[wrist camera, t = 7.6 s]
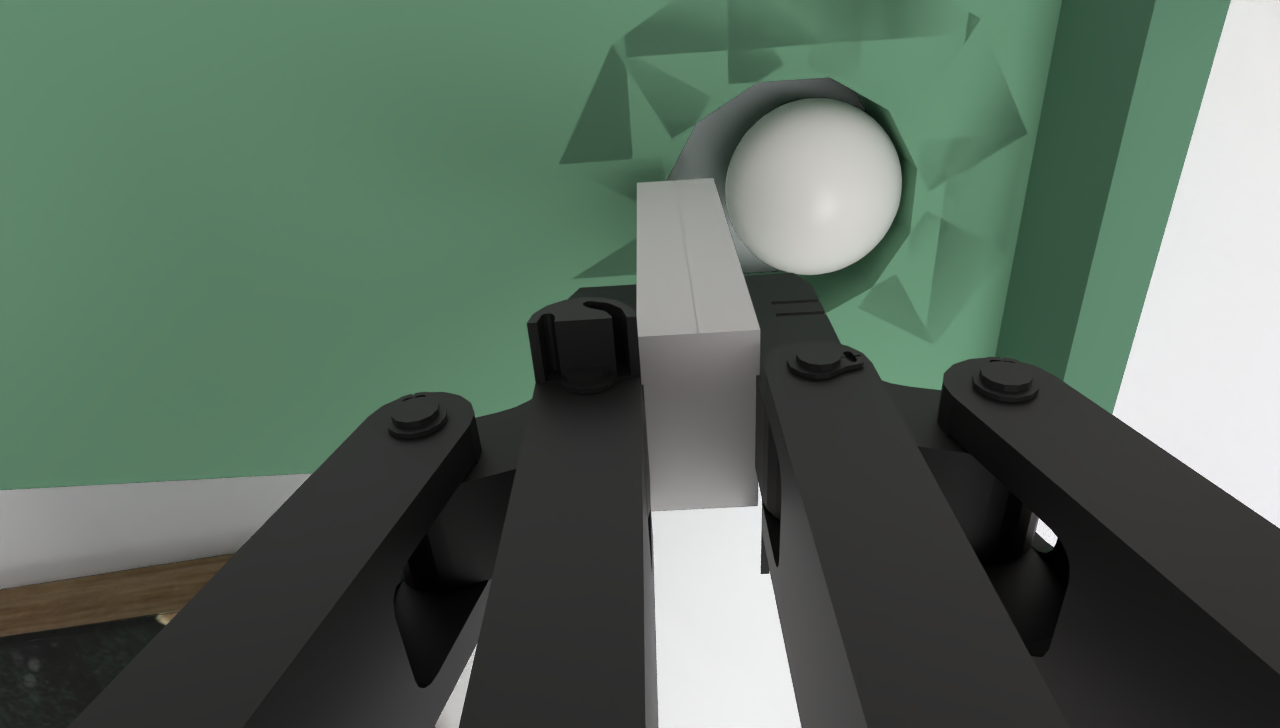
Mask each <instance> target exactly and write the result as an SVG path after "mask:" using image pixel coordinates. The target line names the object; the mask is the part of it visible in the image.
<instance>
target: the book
mask: <svg viewBox="0 0 1280 728" xmlns="http://www.w3.org/2000/svg"><path fill="white" fill-rule="evenodd" d="M234 554H235V553H234ZM234 554H227V555H221V556H214V557H208V558H201V559H195V560H189V561H182V562H176V563H169V564H163V565H156V566H150V567H143V568H137V569H130V570H124V571H117V572H111V573H105V574H98V575H92V576H85V577H79V578H72V579H66V580H59V581H53V582H46V583H40V584H33V585H27V586H20V587H14V588H8V589H1V590H0V728H67V727H68V726H69V725H70V724H71V723H72V722H73V721H74V720H75V719H76V718H77V717H78V716H79V715H80V714H81V712H82V711H83V710H84V709H85V708H86V707H87V706H88V705H89V704H90V703H91V702H92V701H93V700H94V699H95V698H96V697H97V696H98V695H99V694H100V693H101V692H102V691H103V690H104V689H105V688H106V687H107V686H108V685H109V684H110V683H111V682H112V680H113V679H114V678H115V677H116V676H117V675H118V674H119V673H120V672H121V671H122V670H123V669H124V668H125V667H126V666H127V665H128V664H129V663H130V662H131V661H132V660H133V659H134V658H135V657H136V656H137V655H138V654H139V653H140V652H141V651H142V649H143V648H144V647H145V646H146V645H147V644H148V643H149V642H150V641H151V640H152V639H153V638H154V637H155V636H156V635H157V634H158V633H159V632H160V631H161V630H162V629H163V628H164V627H165V626H166V625H167V624H168V623H169V622H170V621H171V620H172V619H173V617H174V616H175V615H176V614H177V613H178V612H179V611H180V610H181V609H182V608H183V607H184V606H185V605H186V604H187V603H188V602H189V601H190V600H191V599H192V598H193V597H194V596H195V595H196V594H197V593H198V592H199V591H200V590H201V589H202V588H203V587H204V585H205V584H206V583H207V582H208V581H209V580H210V579H211V578H212V577H213V576H214V575H215V574H216V573H217V572H218V571H219V570H220V569H221V568H222V567H223V566H224V565H225V564H226V563H227V562H228V561H229V560H230V559H231V558H232V557H233V556H234ZM434 728H435V726H434Z"/></svg>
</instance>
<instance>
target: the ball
mask: <svg viewBox="0 0 1280 728" xmlns="http://www.w3.org/2000/svg"><path fill="white" fill-rule="evenodd" d="M901 191H902V173H901V166H900V161H899V157H898V154H897V152H896V149H895V147H894V145H893V143H892V141H891V139H890V138H889V136H888V134H887V133H886V132H885V130H884V129H883V128H882V126H881V125H880V124H879V123H878V122H877V121H876V120H875V119H874V118H872V117H871V116H870V115H868V114H867V113H866V112H864V111H863V110H861V109H859V108H857V107H855V106H853V105H851V104H848V103H846V102H843V101H839V100H834V99H826V98H808V99H802V100H797V101H793V102H790V103H787V104H785V105H782V106H780V107H778V108H776V109H774V110H772V111H770V112H769V113H767V114H766V115H765V116H763V117H762V118H761V119H759V120H758V121H757V122H756V123H755V124H754V125H753V126H752V127H751V128H750V129H749V130H748V131H747V132H746V134H745V135H744V136H743V138H742V139H741V141H740V142H739V144H738V146H737V147H736V149H735V151H734V153H733V155H732V158H731V161H730V164H729V167H728V171H727V177H726V184H725V196H726V205H727V210H728V214H729V218H730V221H731V223H732V226H733V228H734V230H735V232H736V233H737V235H738V237H739V238H740V240H741V241H742V242H743V244H744V245H745V246H746V247H747V248H748V249H749V250H750V251H751V252H752V253H753V254H754V255H755V256H756V257H757V258H759V259H760V260H762V261H763V262H765V263H766V264H768V265H770V266H772V267H774V268H776V269H779V270H782V271H785V272H789V273H794V274H800V275H818V274H824V273H830V272H834V271H837V270H840V269H843V268H845V267H847V266H849V265H851V264H853V263H855V262H857V261H858V260H860V259H861V258H863V257H864V256H865V255H867V254H868V253H869V252H870V251H871V250H872V249H873V248H874V247H875V246H876V245H877V244H878V243H879V242H880V241H881V240H882V239H883V237H884V236H885V234H886V233H887V231H888V230H889V228H890V226H891V224H892V222H893V220H894V218H895V216H896V213H897V210H898V207H899V204H900V198H901Z"/></svg>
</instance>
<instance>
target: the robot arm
mask: <svg viewBox="0 0 1280 728" xmlns="http://www.w3.org/2000/svg"><path fill="white" fill-rule="evenodd" d="M527 329H528V336H529V342H530V349H531V356H532V362H533V369H534V375H535V382H536V383H535V387H534V392H533V396H532V399H530V400H529V401H527V402H525V403H523V404H521V405H519V406H516V407H514V408H511V409H507V410H504V411H501V412H497V413H493V414H489V415H485V416H481V417H476V418H475V413H474V410H473V407H472V404H471V402H469V401H468V400H466V399H465V398H463V397H462V396H460V395H456V394H452V393H447V392H419V393H415V394H414V395H412V394H409V395H405V396H402V397H400V398H399V399H397V400H394V401H392V402H390V403H388V404H385V405H383V406H381V407H380V408H379V409H378V410H376V411H375V412H374V413H372V414H371V415H370V416H368V417H367V418H366V419H365V420H364V421H363V422H362V423H361V424H360V425H359V426H358V427H357V429H356V430H355V431H354V432H353V433H352V434H351V435H350V436H349V437H348V438H347V439H346V440H345V441H344V442H343V443H342V444H341V445H340V446H339V447H338V448H337V449H336V450H335V451H334V452H333V453H332V454H331V455H330V456H329V457H328V458H327V459H326V461H325V462H324V463H323V464H322V465H321V466H320V467H319V468H318V469H317V470H316V471H315V472H314V473H313V474H312V475H311V476H310V477H309V478H308V479H307V480H306V481H305V482H304V483H303V484H302V485H301V486H300V487H299V488H298V489H297V490H296V492H295V493H294V494H293V495H292V496H291V497H290V498H289V499H288V500H287V501H286V502H285V503H284V504H283V505H282V506H281V507H280V508H279V509H278V510H277V511H276V512H275V513H274V514H273V515H272V516H271V517H270V518H269V519H268V520H267V521H266V522H265V524H264V525H263V526H262V527H261V528H260V529H259V530H258V531H257V532H256V533H255V534H254V535H253V536H252V537H251V538H250V539H249V540H248V541H247V542H246V543H245V544H244V545H243V546H242V547H241V548H240V549H239V550H238V551H237V552H236V553H235V554H234V556H233V557H232V558H231V559H230V560H229V561H228V562H227V563H226V564H225V565H224V566H223V567H222V568H221V569H220V570H219V571H218V572H217V573H216V574H215V575H214V576H213V577H212V578H211V579H210V580H209V581H208V582H207V583H206V584H205V585H204V587H203V588H202V589H201V590H200V591H199V592H198V593H197V594H196V595H195V596H194V597H193V598H192V599H191V600H190V601H189V602H188V603H187V604H186V605H185V606H184V607H183V608H182V609H181V610H180V611H179V612H178V613H177V614H176V615H175V616H174V617H173V619H172V620H171V621H170V622H169V623H168V624H167V625H166V626H165V627H164V628H163V629H162V630H161V631H160V632H159V633H158V634H157V635H156V636H155V637H154V638H153V639H152V640H151V641H150V642H149V643H148V644H147V645H146V646H145V647H144V648H143V649H142V651H141V652H140V653H139V654H138V655H137V656H136V657H135V658H134V659H133V660H132V661H131V662H130V663H129V664H128V665H127V666H126V667H125V668H124V669H123V670H122V671H121V672H120V673H119V674H118V675H117V676H116V677H115V678H114V679H113V680H112V682H111V683H110V684H109V685H108V686H107V687H106V688H105V689H104V690H103V691H102V692H101V693H100V694H99V695H98V696H97V697H96V698H95V699H94V700H93V701H92V702H91V703H90V704H89V705H88V706H87V707H86V708H85V709H84V710H83V711H82V712H81V714H80V715H79V716H78V717H77V718H76V719H75V720H74V721H73V722H72V723H71V724H70V725H69V726H68V727H67V728H434V726H435V724H436V722H437V720H438V718H439V716H440V714H441V712H442V710H443V708H444V707H445V705H446V703H447V701H448V699H449V697H450V695H451V693H452V691H453V689H454V687H455V685H456V683H457V681H458V679H459V677H460V675H461V674H462V672H463V670H464V668H465V666H466V664H467V662H468V660H469V658H470V656H471V654H472V652H473V650H474V648H475V646H476V644H477V642H478V644H477V648H476V653H475V657H474V661H473V666H472V670H471V675H470V679H469V684H468V688H467V693H466V697H465V702H464V706H463V711H462V715H461V720H460V724H459V728H658V699H657V664H656V630H655V595H654V561H653V533H652V519H651V511H667V510H687V509H706V508H726V507H745V506H758V482H759V487H760V491H761V496H762V540H761V574H769V571H770V574H771V579H772V584H773V589H774V594H775V599H776V604H777V609H778V614H779V619H780V624H781V628H782V633H783V638H784V643H785V648H786V653H787V658H788V663H789V668H790V673H791V678H792V683H793V687H794V692H795V697H796V702H797V707H798V712H799V717H800V722H801V727H802V728H1280V529H1279V528H1278V527H1276V526H1275V525H1273V524H1272V523H1271V522H1269V521H1268V520H1266V519H1265V518H1263V517H1262V516H1260V515H1259V514H1257V513H1256V512H1254V511H1253V510H1251V509H1250V508H1249V507H1247V506H1246V505H1244V504H1243V503H1241V502H1240V501H1238V500H1237V499H1235V498H1234V497H1232V496H1231V495H1229V494H1228V493H1226V492H1225V491H1224V490H1222V489H1221V488H1219V487H1218V486H1216V485H1215V484H1213V483H1212V482H1210V481H1209V480H1207V479H1206V478H1204V477H1203V476H1202V475H1200V474H1199V473H1197V472H1196V471H1194V470H1193V469H1191V468H1190V467H1188V466H1187V465H1185V464H1184V463H1182V462H1181V461H1179V460H1178V459H1177V458H1175V457H1174V456H1172V455H1171V454H1169V453H1168V452H1166V451H1165V450H1163V449H1162V448H1160V447H1159V446H1157V445H1156V444H1154V443H1153V442H1152V441H1150V440H1149V439H1147V438H1146V437H1144V436H1143V435H1141V434H1140V433H1138V432H1137V431H1135V430H1134V429H1132V428H1131V427H1130V426H1128V425H1127V424H1125V423H1124V422H1122V421H1121V420H1119V419H1118V418H1116V417H1115V416H1113V415H1112V414H1110V413H1109V412H1107V411H1106V410H1105V409H1103V408H1102V407H1100V406H1099V405H1097V404H1096V403H1094V402H1093V401H1091V400H1090V399H1088V398H1087V397H1085V396H1084V395H1082V394H1081V393H1080V392H1078V391H1077V390H1075V389H1074V388H1072V387H1071V386H1069V385H1068V384H1066V383H1065V382H1063V381H1062V380H1060V379H1059V378H1058V377H1056V376H1055V375H1053V374H1051V373H1049V372H1047V371H1045V370H1043V369H1041V368H1039V367H1037V366H1034V365H1031V364H1027V363H1023V362H1020V361H1018V360H1016V359H1012V358H1005V357H1003V359H1001V358H1000V357H986V358H975V359H968V360H965V361H962V362H959V363H956V364H953V365H952V366H951V367H950V368H949V369H948V370H947V371H946V372H945V373H944V376H943V382H942V389H941V390H935V389H927V388H918V387H910V386H904V385H898V384H893V383H889V382H886V381H882V380H881V378H880V376H879V374H878V372H877V371H876V369H875V367H874V365H873V363H872V362H871V361H870V360H869V359H868V358H867V357H866V356H865V355H864V354H863V353H862V352H860V351H858V350H856V349H853V348H851V347H849V346H847V345H842V344H841V343H840V341H839V339H838V337H837V335H836V333H835V331H834V329H833V326H832V324H831V322H830V320H829V318H828V316H827V314H825V310H824V308H823V306H822V304H821V302H819V298H818V296H817V294H816V292H815V290H814V288H813V286H812V284H810V283H809V282H807V281H805V280H804V279H802V278H801V277H799V276H797V275H796V274H794V273H778V274H761V275H743V272H742V269H741V266H740V262H739V259H738V256H737V253H736V249H735V246H734V243H733V240H732V236H731V233H730V230H729V227H728V224H727V220H726V217H725V214H724V211H723V207H722V204H721V201H720V198H719V194H718V191H717V188H716V185H715V182H714V178H704V179H689V180H673V181H657V182H642V183H637V284H633V285H617V286H600V287H583V288H579V289H578V290H577V291H576V292H575V293H574V294H573V295H571V296H570V297H569V298H568V299H567V300H563V301H560V302H556V303H553V304H550V305H547V306H545V307H544V308H542V309H540V310H539V311H537V312H535V313H534V314H533V315H532V316H531V318H530V319H529V320H528V322H527ZM1039 518H1040V519H1041V520H1042V521H1043V522H1044V523H1045V524H1046V525H1047V526H1048V527H1049V528H1050V529H1051V530H1052V531H1053V532H1054V533H1055V535H1056V536H1057V537H1058V539H1057V543H1056V545H1055V546H1054V547H1053V546H1051V545H1050V544H1048V543H1047V542H1046V541H1045V540H1044V539H1043V538H1042V537H1040V536H1039V535H1038V534H1037V533H1036V532H1035V531H1036V527H1037V523H1038V519H1039Z"/></svg>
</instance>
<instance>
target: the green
mask: <svg viewBox="0 0 1280 728" xmlns="http://www.w3.org/2000/svg"><path fill="white" fill-rule="evenodd" d="M1230 1H1231V0H0V490H12V489H30V488H49V487H67V486H85V485H104V484H122V483H141V482H159V481H178V480H196V479H214V478H233V477H251V476H270V475H288V474H307V473H314V472H315V471H316V470H317V469H318V468H319V467H320V466H321V465H322V464H323V463H324V462H325V461H326V459H327V458H328V457H329V456H330V455H331V454H332V453H333V452H334V451H335V450H336V449H337V448H338V447H339V446H340V445H341V444H342V443H343V442H344V441H345V440H346V439H347V438H348V437H349V436H350V435H351V434H352V433H353V432H354V431H355V430H356V429H357V427H358V426H359V425H360V424H361V423H362V422H363V421H364V420H365V419H366V418H367V417H368V416H370V415H371V414H372V413H374V412H375V411H376V410H378V409H379V408H380V407H381V406H383V405H385V404H388V403H390V402H392V401H394V400H397V399H399V398H400V397H402V396H405V395H409V394H412V395H414V394H415V393H419V392H447V393H452V394H456V395H460V396H462V397H463V398H465V399H466V400H468V401H469V402H471V404H472V407H473V410H474V413H475V418H476V417H481V416H485V415H489V414H493V413H497V412H501V411H504V410H507V409H511V408H514V407H516V406H519V405H521V404H523V403H525V402H527V401H529V400H530V399H532V396H533V392H534V387H535V383H536V382H535V375H534V369H533V362H532V356H531V349H530V342H529V336H528V329H527V322H528V320H529V319H530V318H531V316H532V315H533V314H534V313H535V312H537V311H539V310H540V309H542V308H544V307H545V306H547V305H550V304H553V303H556V302H560V301H563V300H567V299H568V298H569V297H570V296H571V295H573V294H574V293H575V292H576V291H577V290H578V289H579V288H583V287H600V286H617V285H633V284H637V183H642V182H657V181H667V179H668V177H669V175H670V173H671V171H672V169H673V167H674V165H675V163H676V161H677V159H678V158H679V156H680V154H681V152H682V150H683V148H684V146H685V144H686V142H687V140H688V138H689V136H690V134H691V132H692V130H693V129H694V127H695V125H696V123H697V122H699V121H700V120H702V119H703V118H705V117H706V116H708V115H709V114H711V113H712V112H714V111H715V110H717V109H718V108H720V107H721V106H723V105H724V104H726V103H727V102H729V101H730V100H732V99H733V98H735V97H736V96H738V95H739V94H741V93H742V92H744V91H745V90H747V89H748V88H750V87H751V86H753V85H754V84H756V83H757V82H768V81H783V80H798V79H813V78H828V77H830V78H832V79H834V80H835V81H837V82H839V83H841V84H843V85H844V86H846V87H848V88H850V89H852V90H853V91H855V92H857V94H858V96H859V98H860V100H861V102H862V104H863V106H864V108H865V110H866V112H867V114H868V115H870V116H871V117H872V118H874V119H875V120H876V121H877V122H878V123H879V124H880V125H881V126H882V128H883V129H884V130H885V132H886V133H887V134H888V136H889V138H890V139H891V141H892V143H893V145H894V147H895V149H896V152H897V154H898V157H899V161H900V166H901V173H902V191H901V198H900V204H899V207H898V210H897V213H896V216H895V218H894V220H893V222H892V224H891V226H890V228H889V230H888V231H887V233H886V234H885V236H884V237H883V239H882V240H881V241H880V242H879V243H878V244H877V245H876V246H875V247H874V248H873V249H872V250H871V251H870V252H869V253H868V254H867V255H865V256H864V257H863V258H861V259H860V260H858V261H857V262H855V263H853V264H851V265H849V266H847V267H845V268H843V269H840V270H837V271H834V272H830V273H824V274H818V275H800V274H796V275H797V276H799V277H801V278H802V279H804V280H805V281H807V282H809V283H810V284H812V286H813V288H814V290H815V292H816V294H817V296H818V298H819V302H821V304H822V306H823V308H824V310H825V314H827V316H828V318H829V320H830V322H831V324H832V326H833V329H834V331H835V333H836V335H837V337H838V339H839V341H840V343H841V344H842V345H847V346H849V347H851V348H853V349H856V350H858V351H860V352H862V353H863V354H864V355H865V356H866V357H867V358H868V359H869V360H870V361H871V362H872V363H873V365H874V367H875V369H876V371H877V372H878V374H879V376H880V378H881V380H882V381H886V382H889V383H893V384H898V385H904V386H910V387H918V388H927V389H935V390H941V389H942V382H943V376H944V373H945V372H946V371H947V370H948V369H949V368H950V367H951V366H952V365H953V364H956V363H959V362H962V361H965V360H968V359H975V358H986V357H1000V358H1001V359H1003V357H1005V358H1012V359H1016V360H1018V361H1020V362H1023V363H1027V364H1031V365H1034V366H1037V367H1039V368H1041V369H1043V370H1045V371H1047V372H1049V373H1051V374H1053V375H1055V376H1056V377H1058V378H1059V379H1060V380H1062V381H1063V382H1065V383H1066V384H1068V385H1069V386H1071V387H1072V388H1074V389H1075V390H1077V391H1078V392H1080V393H1081V394H1082V395H1084V396H1085V397H1087V398H1088V399H1090V400H1091V401H1093V402H1094V403H1096V404H1097V405H1099V406H1100V407H1102V408H1103V409H1105V410H1106V411H1107V412H1109V413H1110V414H1112V413H1113V409H1114V406H1115V402H1116V399H1117V395H1118V392H1119V389H1120V385H1121V382H1122V378H1123V375H1124V371H1125V368H1126V364H1127V361H1128V357H1129V354H1130V350H1131V347H1132V343H1133V340H1134V336H1135V333H1136V329H1137V326H1138V322H1139V319H1140V315H1141V312H1142V308H1143V305H1144V301H1145V298H1146V294H1147V291H1148V287H1149V284H1150V280H1151V277H1152V273H1153V270H1154V266H1155V263H1156V259H1157V256H1158V252H1159V249H1160V245H1161V242H1162V238H1163V235H1164V231H1165V228H1166V224H1167V221H1168V217H1169V214H1170V210H1171V207H1172V203H1173V200H1174V196H1175V193H1176V189H1177V186H1178V182H1179V179H1180V175H1181V172H1182V168H1183V165H1184V161H1185V158H1186V155H1187V151H1188V148H1189V144H1190V141H1191V137H1192V134H1193V130H1194V127H1195V123H1196V120H1197V116H1198V113H1199V109H1200V106H1201V102H1202V99H1203V95H1204V92H1205V88H1206V85H1207V81H1208V78H1209V74H1210V71H1211V67H1212V64H1213V60H1214V57H1215V53H1216V50H1217V46H1218V43H1219V39H1220V36H1221V32H1222V29H1223V25H1224V22H1225V18H1226V15H1227V11H1228V8H1229V4H1230ZM778 273H789V272H785V271H780V272H763V273H747V274H743V275H761V274H778Z"/></svg>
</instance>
